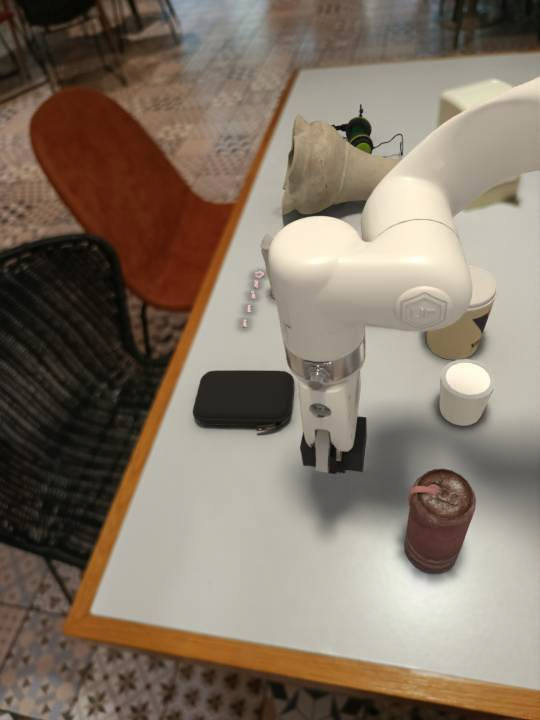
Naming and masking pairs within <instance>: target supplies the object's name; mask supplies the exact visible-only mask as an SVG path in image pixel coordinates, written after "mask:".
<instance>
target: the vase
mask: <svg viewBox="0 0 540 720" xmlns="http://www.w3.org/2000/svg"><path fill="white" fill-rule="evenodd" d="M331 125H332V124H329V123H328V122H326V121H322V120H315V121H312V122H308V121H307V120H306V119H305V118H304V116H302V114H300V113H298V112H297V113H296V116H295V118H294V122H293V126H292V131H291V146H290V149H289V152H288V155H287V165H286V173H285V177H284V180H283V181H284V182H283V185H282V190H284V192H283V195H282V198H281V214H282V215H283V216H284V215H287V214H289V213H290V212H292V211H294V210H297V212H299V214H302V215H314V214H317V213H320V212H322V211H323V210H325V209H327V208H329V207H331V206H332V205H334V206H335V205H338V204H341V203H348V202H353V201H355V202H356V201H367V200H368V198H369V197H370V195H371V193H372V192H373V190H374V189H375V188H376V186H377V185H378V184H379V183H380V182H381V180H382V179H383V178H384V177H385V176H386V175H387V174H388V173H389V172H390V171H391V170H392V169H393V168H394V167H395V166H396V165H397V164H398V163H399V162H400V161H401V160H402V159H403V158H401V159H400V158H399V159H398V158H397V159H396V158H388V157H384V156H379V155H375V154H373V153H372V154H369V153H366V152H364V151H362V150H360V149H358V148H356V147H354V146H352V145H351V144H350V143H349V142H348V140H345V139H344V137H343V136H342V135H341V133H340V132H339V130H338V131H337V130H336V129H335V128H334V127H332V126H331ZM378 141H379V140H378Z"/></svg>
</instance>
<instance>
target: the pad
mask: <svg viewBox="0 0 540 720" xmlns="http://www.w3.org/2000/svg"><path fill="white" fill-rule="evenodd" d="M367 419H368V418H367V416H357V424H356V431H355V438H354V444H353V447H352V448H351V449H350V450H349V451H344V452H345V461H346V471H349V472H358V473H364V466H365V457H366V448H367V438H368V432H367V431H368V424H367V422H368V421H367ZM330 447H331V448H336V447H335V446H334V445H333V444H330ZM299 450H300V455H301V456H300V457H301V461H302V465H303V466H305V467H311V468H313V467H314V468H316V457H315V444H314V446H312V448H311V447H310V446H309V445H308V444H307V443H306V440H305V437H304V432H303V431H302V436H301V440H300V446H299Z"/></svg>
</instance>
